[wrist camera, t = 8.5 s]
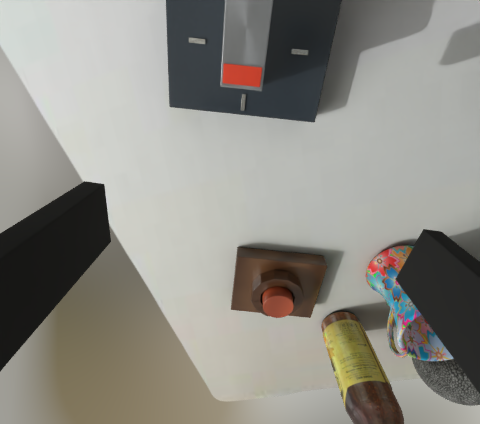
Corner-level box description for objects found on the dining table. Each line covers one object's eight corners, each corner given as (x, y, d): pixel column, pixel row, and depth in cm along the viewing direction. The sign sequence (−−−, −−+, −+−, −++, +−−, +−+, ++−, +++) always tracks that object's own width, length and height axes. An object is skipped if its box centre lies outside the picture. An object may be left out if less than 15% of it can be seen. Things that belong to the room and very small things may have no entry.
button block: (323, 255, 35) (331, 275, 32) (307, 306, 40) (313, 328, 36) (237, 246, 35) (236, 265, 31) (231, 298, 40) (229, 320, 36)
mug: (382, 231, 33) (435, 292, 23) (445, 249, 34) (520, 315, 24) (340, 295, 38) (368, 365, 29) (395, 309, 39) (440, 381, 30)
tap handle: (237, 0, 20) (227, -55, 12) (268, 3, 20) (279, -48, 12) (231, 84, 23) (219, 86, 15) (258, 87, 23) (262, 91, 15)
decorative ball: (387, 345, 43) (422, 413, 34) (419, 305, 39) (469, 372, 30) (441, 355, 44) (489, 425, 35) (479, 317, 39) (545, 386, 30)
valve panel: (336, -17, 22) (349, -31, 19) (308, 118, 27) (315, 122, 24) (174, -34, 22) (163, -51, 19) (177, 104, 27) (168, 107, 24)
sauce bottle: (311, 323, 41) (356, 503, 24) (341, 303, 39) (415, 485, 21) (338, 340, 43) (399, 520, 26) (368, 322, 41) (457, 505, 23)
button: (294, 287, 33) (296, 297, 32) (289, 308, 35) (290, 319, 34) (264, 284, 33) (265, 294, 32) (260, 305, 35) (260, 316, 34)
